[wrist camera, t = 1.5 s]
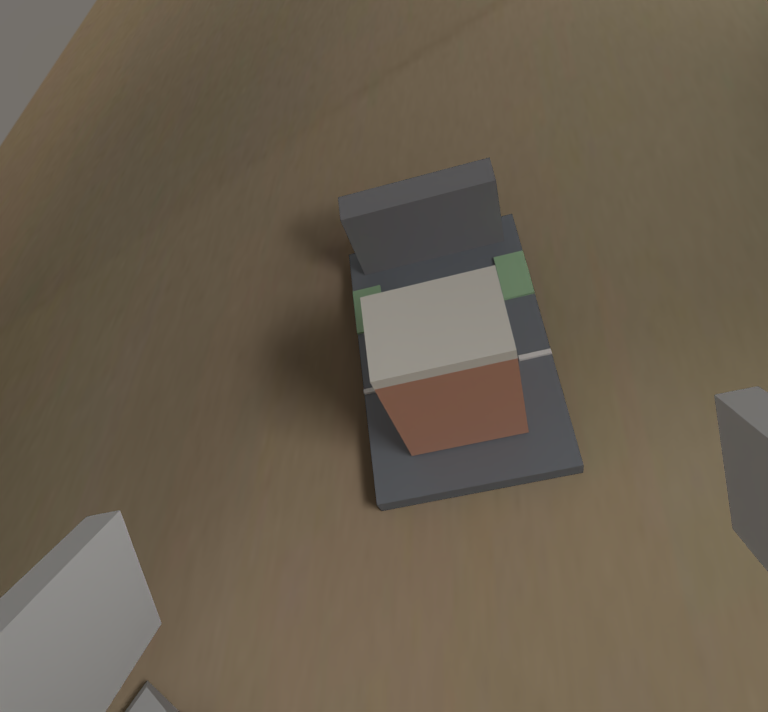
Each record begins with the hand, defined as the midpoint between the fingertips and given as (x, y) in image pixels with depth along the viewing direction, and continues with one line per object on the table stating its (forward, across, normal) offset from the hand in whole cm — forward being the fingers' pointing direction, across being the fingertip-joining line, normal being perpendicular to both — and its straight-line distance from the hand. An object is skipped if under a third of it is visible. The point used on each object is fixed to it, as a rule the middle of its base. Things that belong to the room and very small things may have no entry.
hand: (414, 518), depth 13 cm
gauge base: (+31, 0, -5) cm, 32 cm away
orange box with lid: (+27, 0, -7) cm, 28 cm away
